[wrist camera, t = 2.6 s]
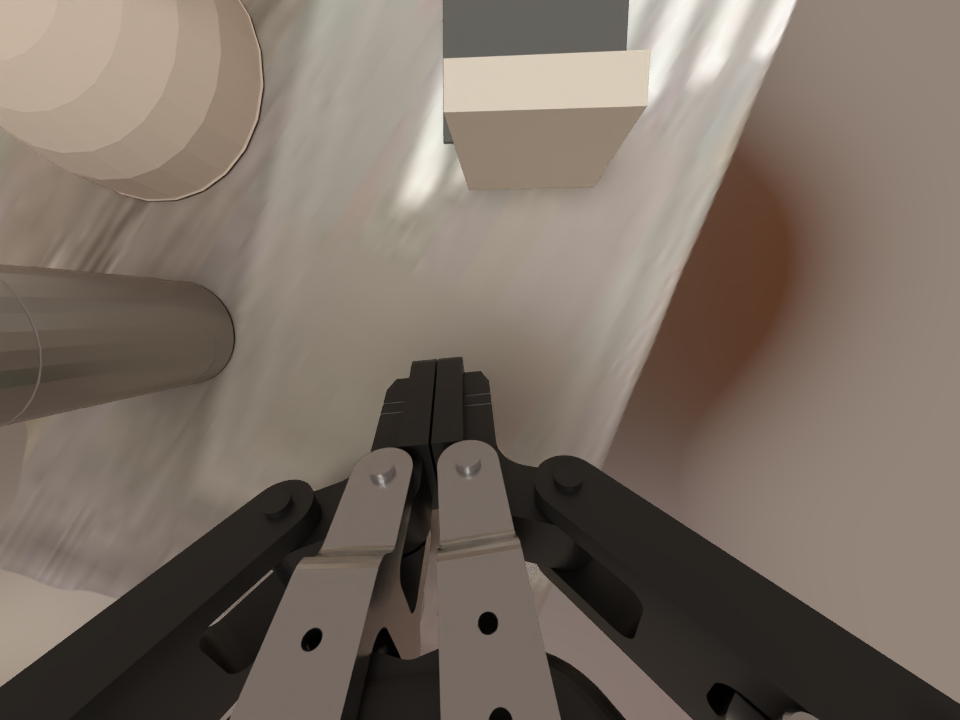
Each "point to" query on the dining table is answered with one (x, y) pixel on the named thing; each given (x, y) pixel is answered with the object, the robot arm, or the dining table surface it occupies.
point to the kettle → (132, 89)
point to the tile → (542, 115)
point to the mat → (531, 29)
